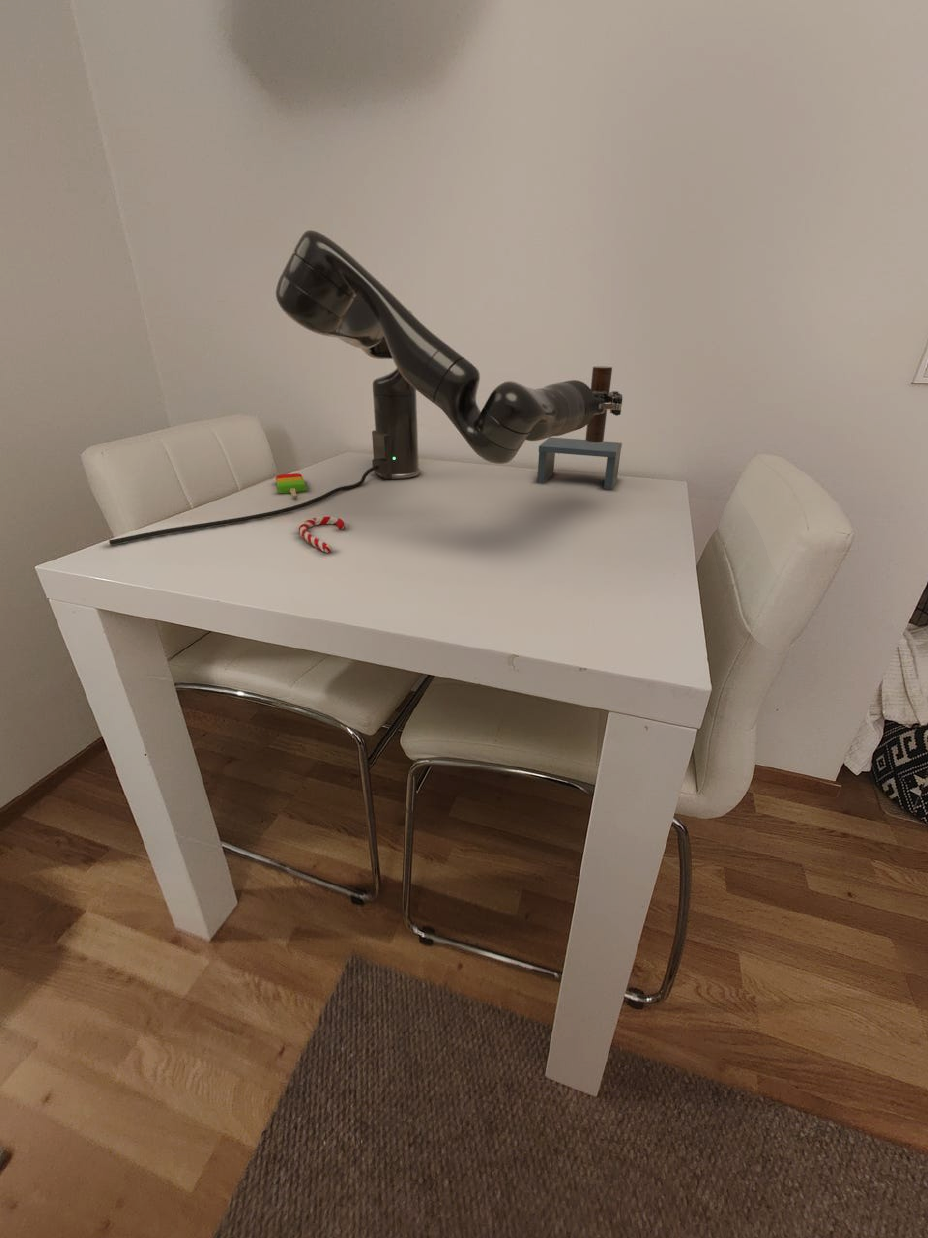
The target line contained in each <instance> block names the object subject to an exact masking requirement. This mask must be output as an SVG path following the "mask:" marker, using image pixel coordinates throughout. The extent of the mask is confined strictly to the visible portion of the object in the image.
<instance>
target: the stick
mask: <svg viewBox="0 0 928 1238" xmlns="http://www.w3.org/2000/svg"><path fill="white" fill-rule="evenodd" d="M612 373H613V367H612V366H604V365H603V366H602V365H601V366H600V365H599V366H598V365H597V366H595V365H594V366H592V371H591V382H590V389H591V391H605V392H607V393H608V392H611V391H610V389H611V381H612ZM607 416H608V410H605V411H604V413H602V414H597V415H594V416H593V417H592V419H591V420H590V422H589V423H588V424H587V425H586V430H585V437H584V438H585V439H584V440H586V441H588V442H603V441H604V439H605V433H606V423H607Z"/></svg>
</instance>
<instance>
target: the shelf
mask: <svg viewBox="0 0 928 1238" xmlns="http://www.w3.org/2000/svg"><path fill="white" fill-rule="evenodd" d="M622 447H623V442H617V441H603V442H588V441H586V440H585V439H577V438H564V437H563V438H562V437H549V438H546V439H545V440H544V441H543V442H541V444H539V445H538V463H537V464H538V465H537V479H536V482H537V484H545V483H546V482H547V481H548V480H549V479H550V478H551V477H552V476H553V475H554V470H555V458H556V457H555V456H556V454H563V455H576V456H589V457H599V458H600V457H601V458H607V459H606V467H605V474H604V475H605V476H604V484H603V490H604V491H605V490H606V491H612V490H613V488H614V486H615V484H616V482H617V480H618V476H619V475H618V474H619V468H620V460H621V451H622Z"/></svg>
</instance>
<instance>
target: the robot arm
mask: <svg viewBox="0 0 928 1238" xmlns="http://www.w3.org/2000/svg"><path fill="white" fill-rule="evenodd" d="M275 298H276V301H277V303H278V305H279V307H280V309H281V310H282V311H283V312H284V314H286V316H288V317H289V318H290V320H292V321H294V322H295V323H296V324H297V325H299V326H301V327H303V328H304V329H306V330H308V331H310V332H313V333H315V334H316V335H317V334H318V335H321V336H326V337H331V338H337V339H339V340H340V341H342V342H344V343H346V344H348V345H350V346H352V347H356V348H358V349H361V350H362V351H363V352H364V353H365V355H367V356H369V358H372V359H377V360H393V363H394V364H395V366H396V368H395V369H394V370H392V371H391V372H390V373H387V374H384V375H382V376H379V377H376V378H375V379H373V381H372V393H373V394H372V396H373V410H374V411H373V413H374V427H375V430H372V431H371V436H372V438H371V439H372V452H373V459H372V462H371V463H372V467H371V468H369V469H367V470H366V471H365V472H364V473H363V475H362V476H361V479H360V480H359V481H358V482H356V483H354V484H351V485H349V484H348V485H344V486H339V487H336V488H334V489H331V490H330V491H327V492H326V493H324V494H322V495H320V496H317V497H315V498H313V499H310V500H307V501H305V502H302V503H299V504H295V505H292V506H287V507H284V508H279V509H276V510H271V511H267V512H261V513H257V514H252V515H251V514H250V515H247V516H240V517H235V518H228V519H222V520H214V521H209V522H203V523H197V524H196V523H195V524H190V525H184V526H178V527H177V526H176V527H171V528H163V529H159V530H153V531H148V532H143V533H137V534H133V535H128V536H124V537H119V538H113V539H109V540H108V541H109V545H110V546H113V545H118V544H123V543H128V542H132V541H137V540H143V539H146V538H152V537H156V536H157V537H158V536H162V535H168V534H173V533H180V532H187V531H192V530H199V529H205V528H212V527H219V526H224V525H230V524H236V523H241V522H247V521H252V520H258V519H263V518H267V517H268V518H269V517H272V516H277V515H281V514H284V513H289V512H292V511H295V510H298V509H301V508H304V507H308V506H311V505H313V504H315V503H318V502H321V501H322V500H325V499H327V498H328V497H330V496H332V495H334V494H336V493H339V492H342V491H346V490H352V489H355V488H358V487H360V486H361V485H362V484H364V482H365V480H366V478H367V476H368V475H370V474H371V473H372V472H374V474H375V475H377V476H379V477H381V478H384V479H386V480H391V479H392V480H394V479H395V480H396V479H397V480H399V479H400V480H401V479H410V478H414V477H416V476H419V475H420V468H419V467H420V463H419V441H418V440H419V439H418V437H419V434H418V407H417V406H418V405H417V404H418V403H417V392H419V393H420V394H421V395H422V396H423V397H424V398H426V399H427V400H429V401H430V402H431V403H432V404H434V405H435V406H436V407H438V408H439V409H440V410H441V411H442V412H443V413H444V414H445V416H447V418H448V420H449V421H450V422H451V423H452V424H453V425H454V427H455V429H457V430H458V432H459V433H460V435H461V436H462V437H463V439H464V440H465V442H466V443H467V444H468V446H469V447H470V448H471V449H472V451H473V452H474V453H475V454H476V455H477V456H478V457H480V458H481V459H483V460H484V461H486V462H488V463H491V464H495V465H505V464H509V463H510V462H511V461H512V460H513V459H514V458H515V457H516V456H517V454H518V453H519V450H520V449H521V448H522V446H523V444H524V443H525V441H528V442H538V441H543V440H547V439H548V438H550V437H551V438H553V437H559V436H560V437H561V436H564V435H566V434H569V433H572V432H575V431H577V430H581V429H582V428H585V427H587V424H588V423H589V422H590V420H591V419H592V417H593V416H594V415H597V414H602V413H604V411H605V410H607V411H608V410H609V414H612V415H613V416H616V417H617V416H620V415H621V412H622V406H623V400H624V399H623V394H621V393H619V391H618V390H613V391H609V392H608V393H607V392H605V391H591V387H590V386H588V385H587V384H586V383H584V382H583V381H581V380H577V379H572V380H567V381H561V382H555V383H551V384H548V385H544V387H540V388H531V387H528V386H526V385H523V384H521V383H519V382H517V381H512V380H507V381H504V382H501V383H500V384H498V385H497V386H496V387H495V388H494V389H493V390H492V391H491V392H490V394H489V396H488V398H487V400H486V402H485V403H484V405H483V407H482V408H481V410H480V408H479V405H478V403H477V395H478V391H479V390H478V389H479V385H480V381H481V374H480V371H479V368H477V367H476V366H475V365H474V364H473V363H472V362H470V360H469V359H467V358H465V357H464V356H463V355H462V354H460V353H459V352H457V350H455V349H454V348H452V347H451V346H450V345H449V344H448V343H446V342H445V341H443V340H442V339H441V338H440V337H439V336H437V335H436V334H435V333H433V331H431V330H430V329H429V328H428V327H427V326H426V325H425V324H424V323H422V322H421V321H420V320H419V319H418V318H417V317H416V316H415V315H414V314H413V312H412V311H411V310H409V309H408V308H407V307H406V306H405V305H404V304H403V303H402V302H401V301H400V300H399V299H398V298H397V297H396V296H395V295H394V293H392V292H391V291H390V290H389V289H388V288H387V287H386V286H385V285H384V284H383V283H381V282H380V280H378V279H377V278H376V277H375V275H373V274H372V273H371V272H370V271H369V270H367V269H366V268H365V267H364V265H362V264H361V263H360V262H359V261H358V260H356V258H355V257H353V256H352V255H351V254H350V253H349V252H347V251H346V250H345V249H344V248H343V247H342V246H341V245H339V244H337V242H335V241H334V240H332V239H331V238H329V237H327V236H326V235H324V234H323V233H320V232H319V231H316V230H312V229H311V230H309V229H308V230H306V231H304V232H303V234H302V235H301V236H300V238H299V239H298V241H297V243H296V245H295V247H294V249H293V252H292V253H291V255H290V257H289V258H288V261H287V263H286V265H285V266H284V269H283V270H282V273H281V274H280V277H279V278H278V281H277V284H276V289H275Z"/></svg>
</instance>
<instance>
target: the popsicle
mask: <svg viewBox="0 0 928 1238" xmlns="http://www.w3.org/2000/svg"><path fill="white" fill-rule="evenodd" d="M275 483H276V487H277V492H278V494H290V496H291V498H297V497H298V495H297V493H305V492H306V491H307V486H306V482H305V480H304V477H303V475H302V474H301V473H299V472H298V473H297V472H294V473H281V474H277V475H276V476H275Z"/></svg>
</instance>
